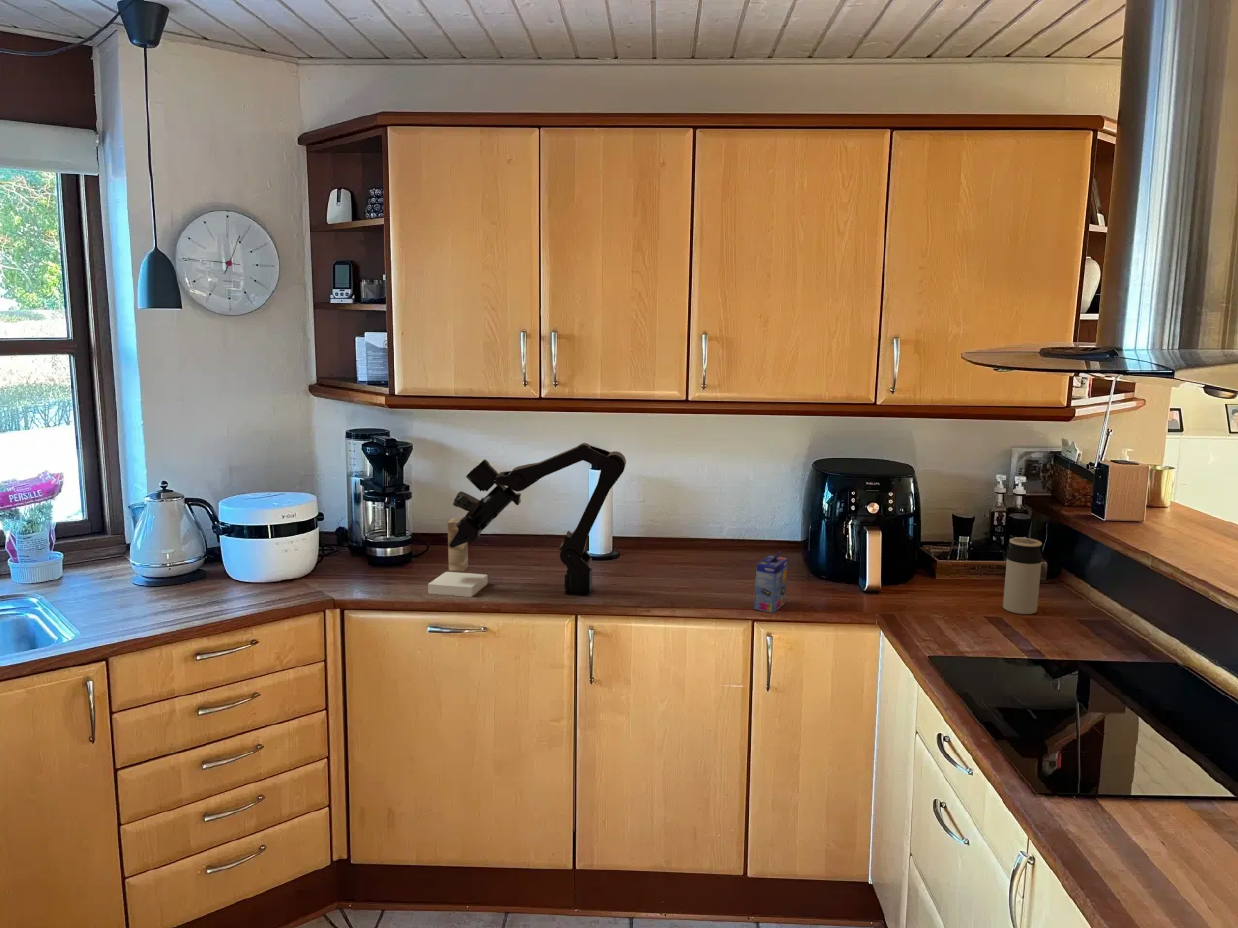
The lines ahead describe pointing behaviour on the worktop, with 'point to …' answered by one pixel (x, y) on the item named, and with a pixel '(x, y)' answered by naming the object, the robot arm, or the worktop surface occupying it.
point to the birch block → (456, 549)
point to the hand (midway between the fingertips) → (452, 543)
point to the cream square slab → (458, 584)
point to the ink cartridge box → (770, 583)
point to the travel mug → (1022, 576)
